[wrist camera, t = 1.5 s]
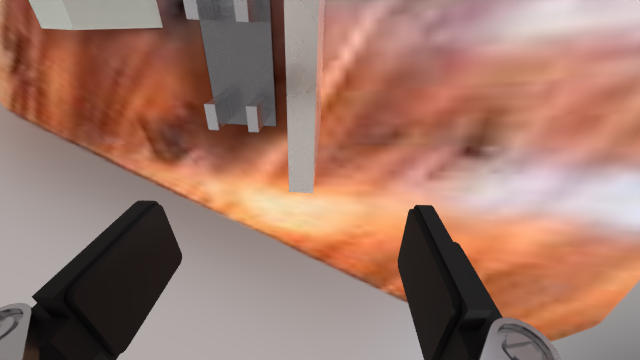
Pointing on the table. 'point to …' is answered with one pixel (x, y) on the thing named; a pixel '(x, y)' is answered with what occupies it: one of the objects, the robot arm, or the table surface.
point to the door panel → (96, 14)
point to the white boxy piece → (265, 72)
